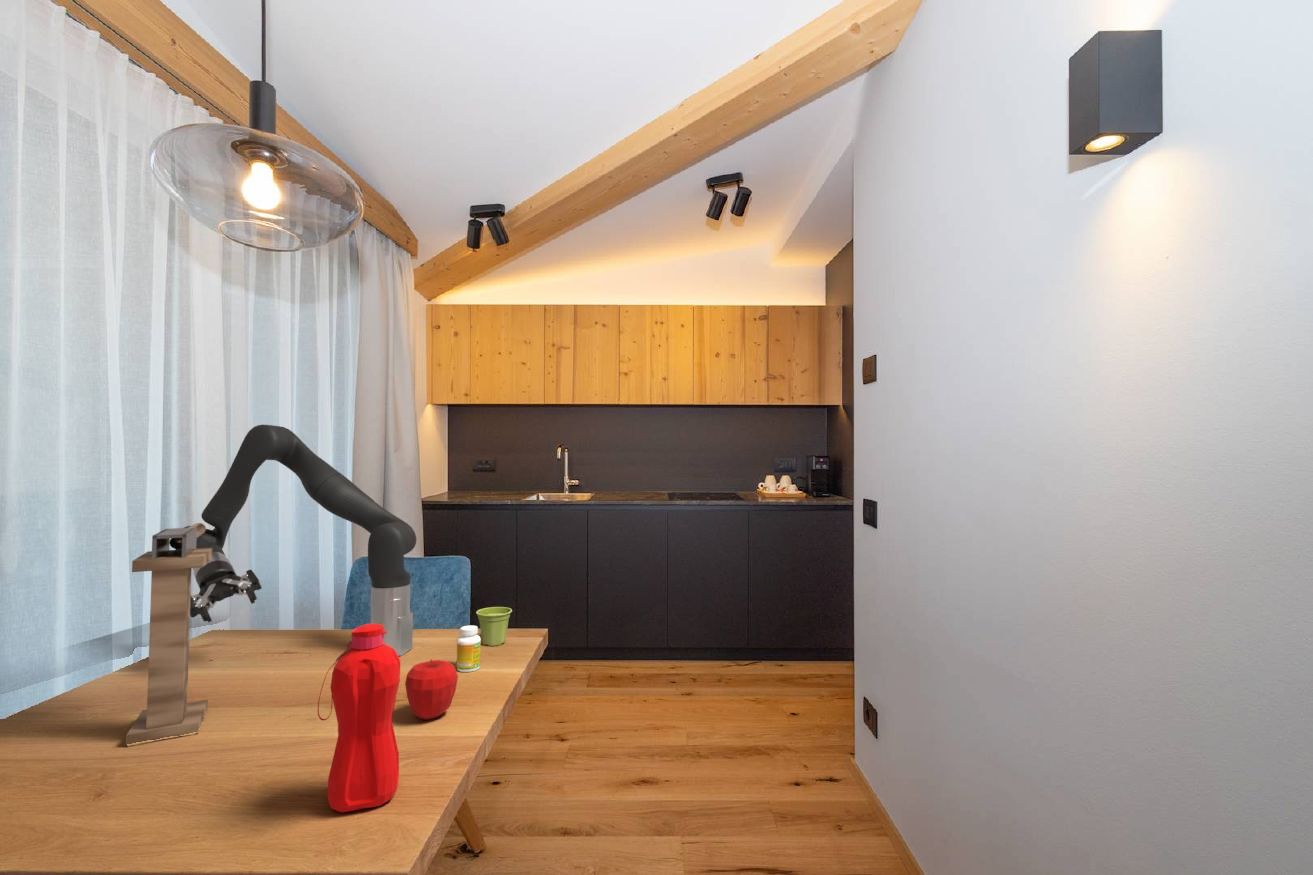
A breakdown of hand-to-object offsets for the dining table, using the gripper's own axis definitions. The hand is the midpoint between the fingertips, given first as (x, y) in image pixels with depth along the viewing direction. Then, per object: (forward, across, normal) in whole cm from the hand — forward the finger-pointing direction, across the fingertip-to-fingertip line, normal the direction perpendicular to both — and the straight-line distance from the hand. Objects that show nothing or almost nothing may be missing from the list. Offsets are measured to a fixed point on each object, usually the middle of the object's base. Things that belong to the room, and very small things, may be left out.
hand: (231, 609), depth 136 cm
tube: (0, -2, -21) cm, 21 cm away
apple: (+55, +21, +2) cm, 59 cm away
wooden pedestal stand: (+26, -16, 0) cm, 30 cm away
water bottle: (+72, +4, -13) cm, 73 cm away
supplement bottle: (+39, +36, +16) cm, 55 cm away
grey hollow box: (+13, -4, -27) cm, 31 cm away
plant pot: (+27, +49, +26) cm, 61 cm away
